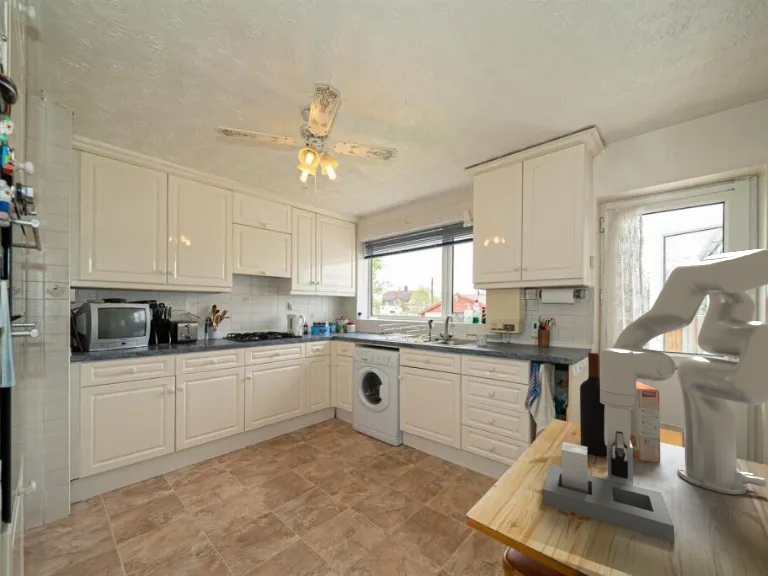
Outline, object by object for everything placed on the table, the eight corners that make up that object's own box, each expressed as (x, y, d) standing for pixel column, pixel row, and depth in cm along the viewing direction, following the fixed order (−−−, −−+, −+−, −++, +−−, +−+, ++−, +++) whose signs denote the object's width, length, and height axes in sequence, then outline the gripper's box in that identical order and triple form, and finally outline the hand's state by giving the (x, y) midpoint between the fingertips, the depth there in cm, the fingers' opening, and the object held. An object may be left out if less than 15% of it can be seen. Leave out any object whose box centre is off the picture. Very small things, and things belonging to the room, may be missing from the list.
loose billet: (631, 485, 83) (630, 440, 83) (633, 494, 79) (632, 447, 79) (607, 479, 85) (606, 436, 86) (608, 488, 81) (607, 442, 82)
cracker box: (662, 463, 94) (660, 389, 95) (638, 461, 95) (636, 388, 96) (635, 443, 108) (634, 378, 109) (615, 441, 109) (613, 377, 110)
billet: (588, 495, 76) (587, 446, 77) (588, 506, 72) (587, 455, 72) (563, 488, 79) (562, 441, 79) (562, 499, 75) (561, 449, 75)
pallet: (661, 511, 72) (661, 492, 73) (674, 548, 61) (673, 525, 62) (549, 481, 84) (549, 465, 84) (543, 507, 73) (543, 489, 73)
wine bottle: (575, 446, 105) (573, 351, 106) (597, 445, 106) (595, 351, 107) (592, 457, 97) (591, 355, 99) (616, 456, 98) (614, 355, 100)
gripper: (599, 389, 92) (599, 451, 91) (600, 404, 78) (600, 478, 77) (632, 393, 88) (632, 459, 87) (641, 410, 74) (641, 489, 73)
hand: (617, 468), depth 82 cm, fingers open, 9 cm apart
